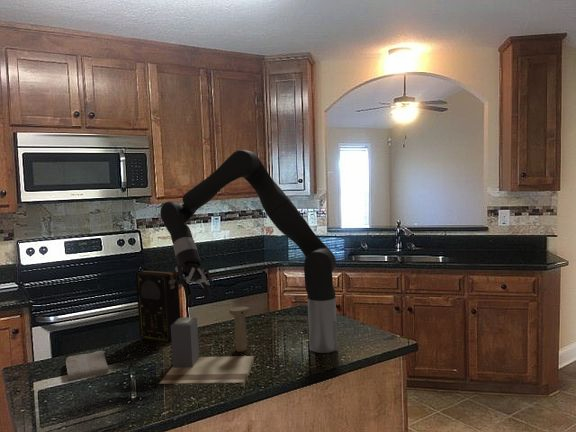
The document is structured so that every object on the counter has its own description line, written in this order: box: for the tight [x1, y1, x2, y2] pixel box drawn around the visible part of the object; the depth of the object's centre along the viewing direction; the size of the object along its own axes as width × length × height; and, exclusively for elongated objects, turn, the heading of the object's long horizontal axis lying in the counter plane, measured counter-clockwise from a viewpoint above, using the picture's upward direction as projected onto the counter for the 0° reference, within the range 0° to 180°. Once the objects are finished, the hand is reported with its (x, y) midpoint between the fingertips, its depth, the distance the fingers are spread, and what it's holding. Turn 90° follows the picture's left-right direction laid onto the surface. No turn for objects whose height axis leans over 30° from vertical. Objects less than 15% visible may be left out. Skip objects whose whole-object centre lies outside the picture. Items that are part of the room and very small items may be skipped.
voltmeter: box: [135, 270, 181, 343], centre depth 180 cm, size 16×9×25 cm, turn 60°
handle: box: [229, 306, 250, 353], centre depth 161 cm, size 5×6×15 cm
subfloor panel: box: [158, 355, 255, 387], centre depth 146 cm, size 24×20×1 cm
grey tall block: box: [171, 316, 200, 368], centre depth 151 cm, size 6×8×14 cm
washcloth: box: [65, 350, 110, 381], centre depth 155 cm, size 12×18×3 cm, turn 27°
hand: (199, 296), depth 159 cm, fingers open, 8 cm apart
